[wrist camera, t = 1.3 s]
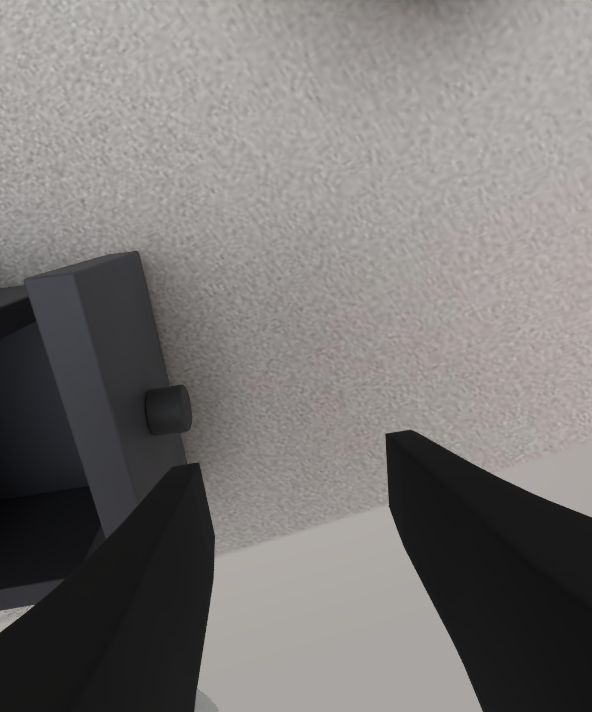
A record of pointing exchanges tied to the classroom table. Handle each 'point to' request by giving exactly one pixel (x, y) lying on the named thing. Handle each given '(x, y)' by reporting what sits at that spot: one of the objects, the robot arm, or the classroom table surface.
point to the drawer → (78, 417)
